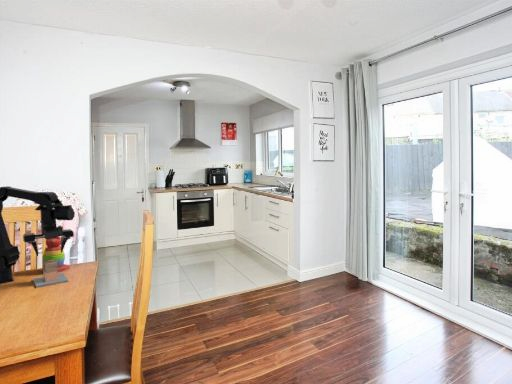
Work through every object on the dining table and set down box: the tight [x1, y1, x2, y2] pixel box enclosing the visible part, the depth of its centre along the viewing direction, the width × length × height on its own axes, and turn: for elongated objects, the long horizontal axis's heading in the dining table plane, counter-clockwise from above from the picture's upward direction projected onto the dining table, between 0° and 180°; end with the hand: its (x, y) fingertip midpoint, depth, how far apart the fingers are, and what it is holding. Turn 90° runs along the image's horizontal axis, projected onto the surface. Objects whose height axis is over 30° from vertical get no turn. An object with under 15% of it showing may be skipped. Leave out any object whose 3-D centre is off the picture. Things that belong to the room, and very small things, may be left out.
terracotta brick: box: [43, 271, 58, 282], centre depth 144 cm, size 6×4×4 cm
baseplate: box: [32, 272, 69, 289], centre depth 144 cm, size 12×12×1 cm
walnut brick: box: [42, 260, 58, 273], centre depth 144 cm, size 6×4×4 cm
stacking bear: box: [42, 236, 71, 273], centre depth 158 cm, size 11×10×18 cm
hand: (49, 254), depth 143 cm, fingers open, 9 cm apart
